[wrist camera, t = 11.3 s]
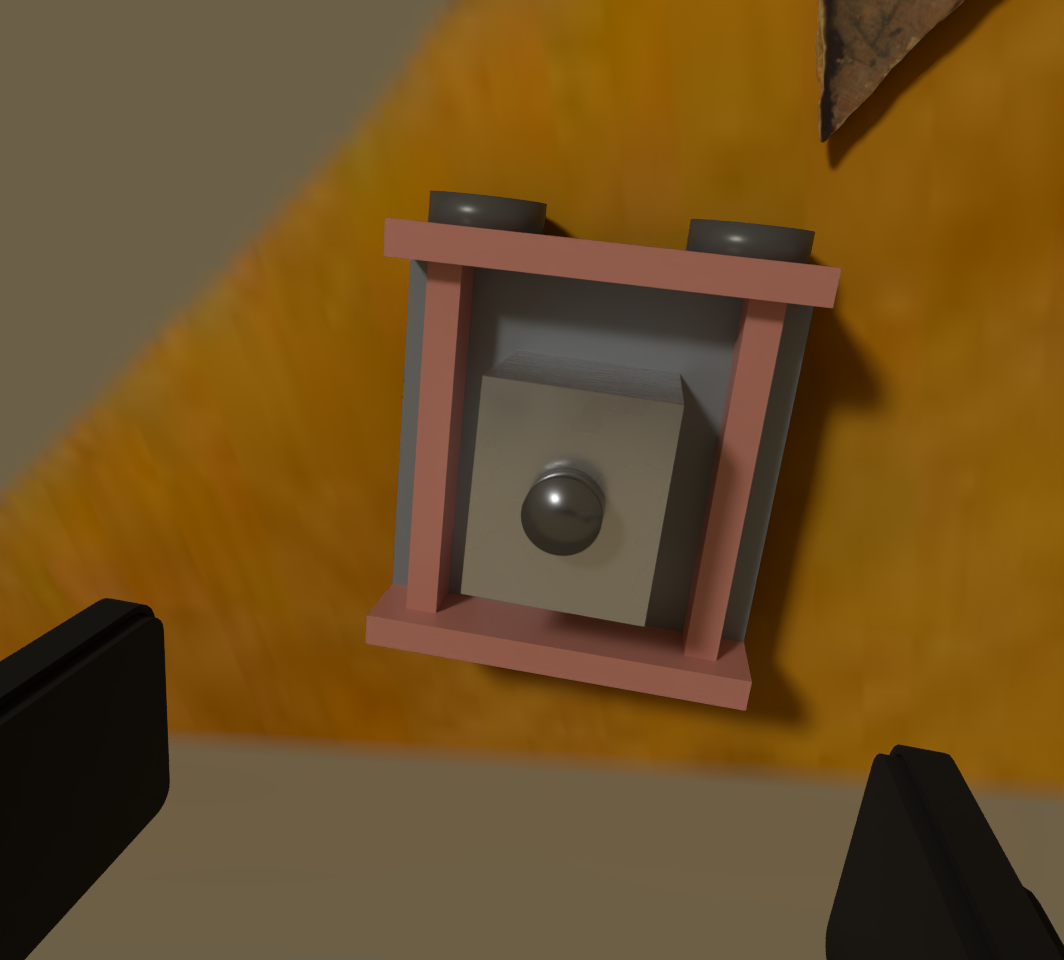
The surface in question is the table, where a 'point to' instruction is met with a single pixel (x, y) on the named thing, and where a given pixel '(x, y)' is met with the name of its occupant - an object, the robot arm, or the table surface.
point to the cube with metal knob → (571, 484)
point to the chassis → (618, 338)
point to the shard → (865, 48)
